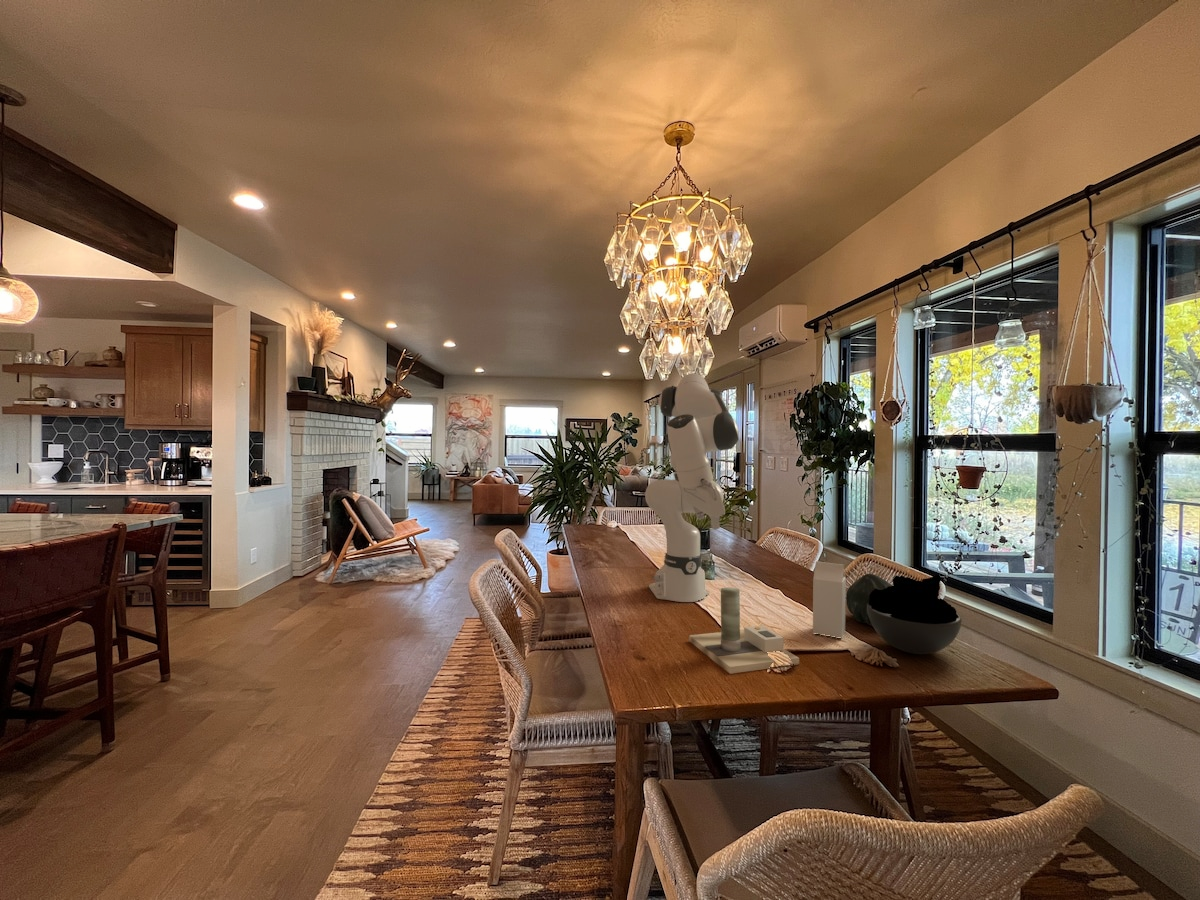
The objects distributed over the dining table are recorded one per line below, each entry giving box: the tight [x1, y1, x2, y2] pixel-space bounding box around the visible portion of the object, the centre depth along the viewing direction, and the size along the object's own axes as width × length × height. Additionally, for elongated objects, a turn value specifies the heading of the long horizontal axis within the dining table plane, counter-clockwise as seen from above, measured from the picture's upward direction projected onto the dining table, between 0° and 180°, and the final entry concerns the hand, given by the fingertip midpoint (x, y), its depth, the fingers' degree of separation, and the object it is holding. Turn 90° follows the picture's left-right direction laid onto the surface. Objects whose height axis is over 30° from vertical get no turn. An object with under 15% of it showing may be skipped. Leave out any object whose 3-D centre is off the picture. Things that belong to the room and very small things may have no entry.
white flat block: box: [688, 629, 800, 675], centre depth 128 cm, size 20×18×2 cm
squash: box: [845, 573, 893, 626], centre depth 151 cm, size 14×15×15 cm
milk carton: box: [812, 561, 847, 639], centre depth 141 cm, size 7×7×19 cm
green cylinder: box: [720, 586, 741, 652], centre depth 126 cm, size 5×5×14 cm
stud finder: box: [743, 624, 784, 652], centre depth 129 cm, size 9×5×3 cm, turn 17°
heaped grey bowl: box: [867, 574, 963, 655], centre depth 129 cm, size 20×20×19 cm
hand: (708, 523), depth 141 cm, fingers open, 8 cm apart
